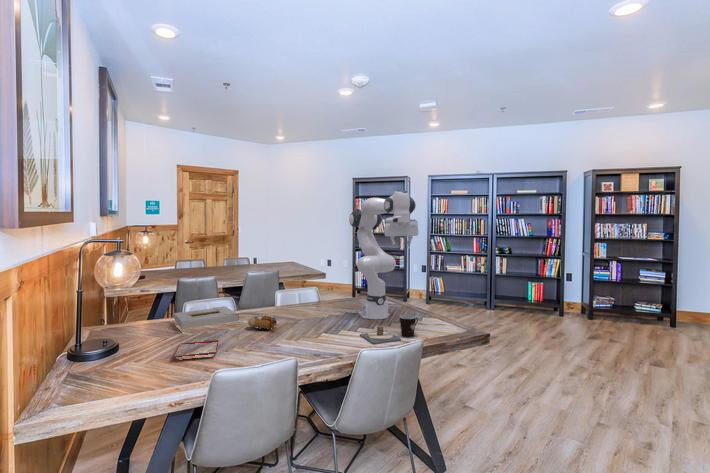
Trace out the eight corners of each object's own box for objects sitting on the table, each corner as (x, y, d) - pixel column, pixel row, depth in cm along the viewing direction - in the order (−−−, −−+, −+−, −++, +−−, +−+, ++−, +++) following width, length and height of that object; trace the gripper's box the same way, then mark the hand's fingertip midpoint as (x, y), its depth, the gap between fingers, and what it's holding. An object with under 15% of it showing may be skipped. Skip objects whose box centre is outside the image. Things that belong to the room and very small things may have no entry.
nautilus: (286, 332, 215) (260, 338, 206) (269, 321, 232) (245, 327, 223) (285, 318, 214) (260, 324, 205) (268, 308, 231) (244, 314, 222)
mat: (359, 335, 207) (359, 334, 207) (386, 332, 214) (386, 330, 214) (373, 344, 193) (373, 343, 193) (401, 340, 199) (401, 339, 199)
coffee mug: (403, 338, 202) (403, 319, 202) (397, 333, 211) (397, 315, 210) (423, 336, 205) (423, 317, 205) (416, 332, 214) (417, 314, 213)
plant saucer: (172, 363, 169) (172, 355, 169) (179, 349, 186) (179, 343, 186) (217, 359, 174) (217, 351, 174) (219, 346, 191) (219, 339, 191)
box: (181, 334, 211) (239, 324, 230) (181, 320, 210) (239, 311, 229) (172, 326, 230) (226, 317, 248) (171, 312, 229) (226, 305, 248)
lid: (363, 334, 206) (363, 325, 206) (385, 331, 212) (385, 322, 211) (374, 341, 194) (374, 331, 194) (397, 338, 200) (397, 328, 199)
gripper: (414, 219, 223) (414, 243, 224) (382, 219, 215) (382, 244, 215) (420, 219, 217) (420, 244, 218) (388, 219, 209) (388, 245, 210)
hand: (401, 244), depth 217 cm, fingers open, 8 cm apart
